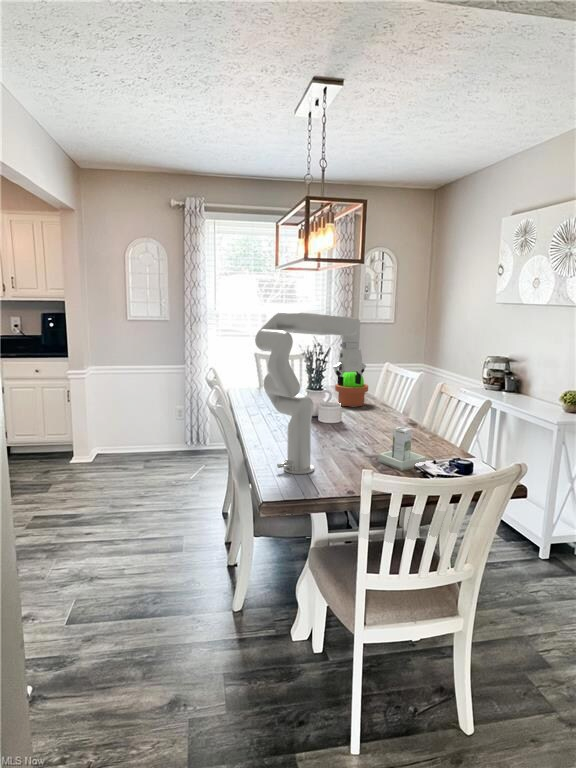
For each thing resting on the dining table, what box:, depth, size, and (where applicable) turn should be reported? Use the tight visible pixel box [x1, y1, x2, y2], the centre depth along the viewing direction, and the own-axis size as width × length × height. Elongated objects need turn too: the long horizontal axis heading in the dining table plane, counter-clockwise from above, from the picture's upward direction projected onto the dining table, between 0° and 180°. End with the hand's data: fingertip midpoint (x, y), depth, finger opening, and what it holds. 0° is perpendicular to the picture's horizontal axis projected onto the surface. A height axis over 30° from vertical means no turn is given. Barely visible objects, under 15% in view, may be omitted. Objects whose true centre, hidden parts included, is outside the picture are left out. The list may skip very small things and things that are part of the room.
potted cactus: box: [334, 372, 369, 407], centre depth 321 cm, size 22×22×25 cm
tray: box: [378, 450, 427, 472], centre depth 205 cm, size 14×14×4 cm
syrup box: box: [391, 426, 413, 462], centre depth 204 cm, size 6×6×14 cm
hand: (349, 384), depth 212 cm, fingers open, 9 cm apart
